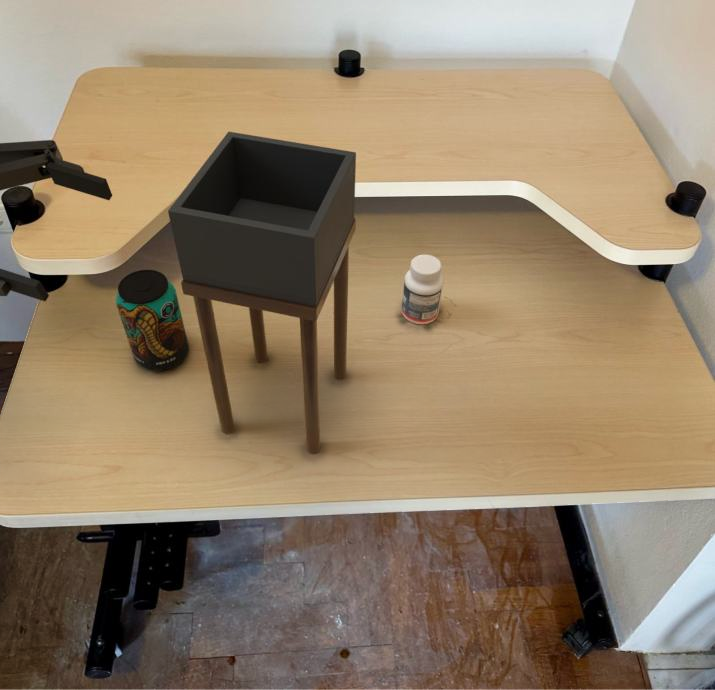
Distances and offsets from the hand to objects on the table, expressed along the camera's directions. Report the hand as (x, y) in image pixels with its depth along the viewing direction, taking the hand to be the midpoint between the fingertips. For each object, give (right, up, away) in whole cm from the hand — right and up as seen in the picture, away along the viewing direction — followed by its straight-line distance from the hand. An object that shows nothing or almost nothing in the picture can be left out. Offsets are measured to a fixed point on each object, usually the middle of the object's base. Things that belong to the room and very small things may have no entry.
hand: (77, 238), depth 69 cm
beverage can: (+3, -12, +19) cm, 23 cm away
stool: (+20, -18, +14) cm, 30 cm away
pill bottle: (+38, -6, +25) cm, 46 cm away
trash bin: (+21, -2, -4) cm, 21 cm away
